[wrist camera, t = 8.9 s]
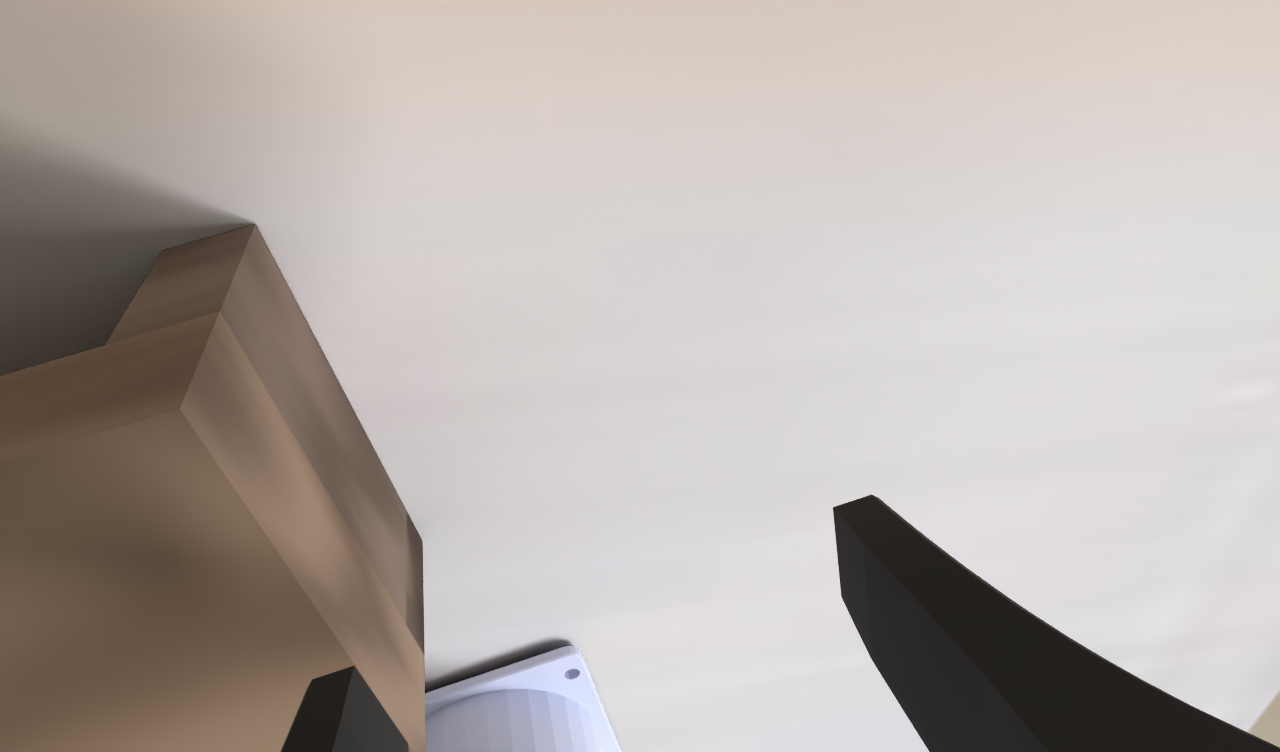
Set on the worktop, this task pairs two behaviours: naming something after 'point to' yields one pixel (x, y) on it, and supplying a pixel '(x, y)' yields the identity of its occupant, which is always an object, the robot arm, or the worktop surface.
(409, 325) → the worktop surface
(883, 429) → the worktop surface
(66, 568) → the cabinet
